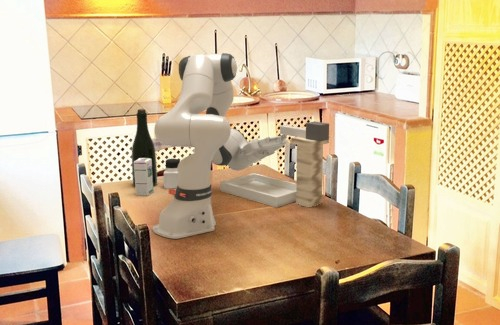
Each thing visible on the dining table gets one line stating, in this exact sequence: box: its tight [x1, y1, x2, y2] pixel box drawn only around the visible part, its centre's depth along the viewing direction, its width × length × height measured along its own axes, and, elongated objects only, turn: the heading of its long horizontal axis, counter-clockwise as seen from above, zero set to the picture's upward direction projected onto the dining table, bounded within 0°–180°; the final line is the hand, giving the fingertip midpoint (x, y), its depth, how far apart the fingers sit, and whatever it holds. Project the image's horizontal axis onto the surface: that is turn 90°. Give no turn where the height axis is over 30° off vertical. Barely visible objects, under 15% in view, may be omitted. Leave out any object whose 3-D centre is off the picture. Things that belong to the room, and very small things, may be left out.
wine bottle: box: [131, 108, 158, 187], centre depth 260 cm, size 10×10×33 cm
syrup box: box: [134, 158, 154, 197], centre depth 249 cm, size 6×6×14 cm
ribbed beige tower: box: [290, 136, 330, 208], centre depth 232 cm, size 10×10×26 cm
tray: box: [219, 172, 296, 208], centre depth 249 cm, size 20×32×4 cm, turn 44°
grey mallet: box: [279, 121, 330, 141], centre depth 231 cm, size 5×21×6 cm, turn 44°
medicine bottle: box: [163, 158, 181, 190], centre depth 260 cm, size 7×7×12 cm
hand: (277, 137), depth 241 cm, fingers open, 8 cm apart
